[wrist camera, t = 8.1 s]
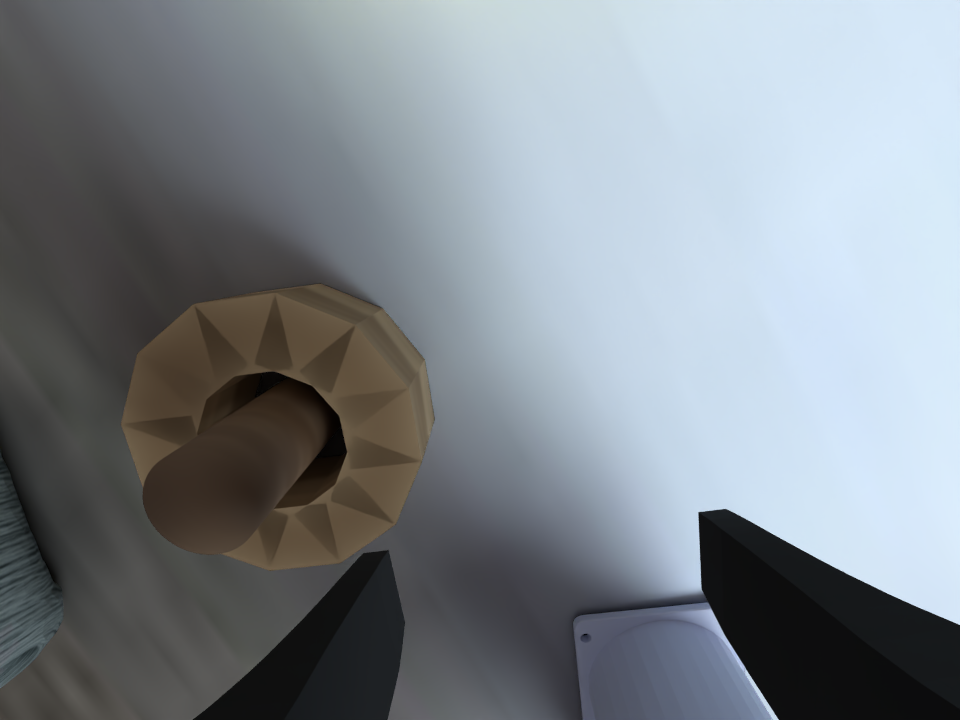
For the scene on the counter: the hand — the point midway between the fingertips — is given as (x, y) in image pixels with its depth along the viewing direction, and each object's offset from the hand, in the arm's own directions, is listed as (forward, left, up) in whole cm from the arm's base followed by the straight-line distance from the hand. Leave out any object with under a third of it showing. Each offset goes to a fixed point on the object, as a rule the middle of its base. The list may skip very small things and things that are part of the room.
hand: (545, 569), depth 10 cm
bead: (+2, +9, -9) cm, 13 cm away
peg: (+2, +9, -9) cm, 13 cm away
